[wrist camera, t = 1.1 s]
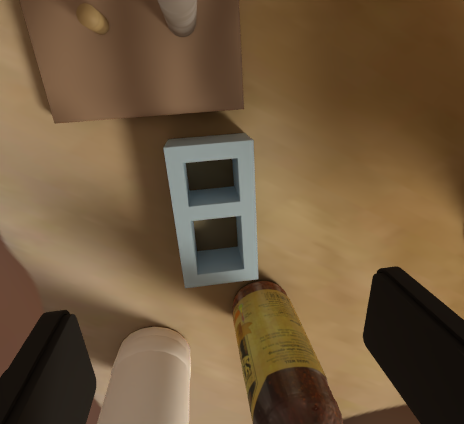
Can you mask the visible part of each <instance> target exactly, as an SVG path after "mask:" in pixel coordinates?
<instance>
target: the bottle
mask: <svg viewBox="0 0 464 424" xmlns="http://www.w3.org/2000/svg"><path fill="white" fill-rule="evenodd" d="M190 375H191V358H190V347H189V345H188V342H187V340H186V339H185V338H184V337H183V336H182V335H180V334H179V333H178V332H176V331H173V330H171V329H168V328H162V327H149V328H142V329H140V330H138V331H135V332H133V333H131V334H130V335H129V336H128V337H127V338H126V339H124V340H123V341H122V344H121V346H120V348H119V351H118V354H117V357H116V359H115V361H114V364H113V367H112V371H111V378H110V382H109V385H108V388H107V392H106V395H105V399H104V402H103V405H102V409H101V412H100V416H99V419H98V423H97V424H189V388H190Z"/></svg>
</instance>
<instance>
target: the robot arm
mask: <svg viewBox="0 0 464 424" xmlns="http://www.w3.org/2000/svg"><path fill="white" fill-rule="evenodd" d="M363 340H364V343H365V345H366V347H367V349H368V350H369V351H370V353H371V354H372V356H373V357H374V358H375V360H376V361H377V363H378V364H379V365H380V367H381V368H382V370H383V371H384V373H385V374H386V375H387V377H388V378H389V380H390V381H391V382H392V384H393V385H394V387H395V388H396V390H397V391H398V392H399V394H400V395H401V397H402V398H403V399H404V401H405V402H406V404H407V405H408V406H409V408H410V409H411V411H412V412H413V414H414V415H415V416H416V418H417V419H418V421H419V422H420V423H421V424H464V320H463V319H462V318H461V317H459V316H458V315H457V314H456V313H455V312H453V311H452V310H451V309H450V308H449V307H447V306H446V305H445V304H444V303H442V302H441V301H440V300H439V299H438V298H436V297H435V296H434V295H433V294H432V293H430V292H429V291H428V290H427V289H426V288H424V287H423V286H422V285H421V284H419V283H418V282H417V281H416V280H415V279H413V278H412V277H411V276H410V275H409V274H407V273H406V272H405V271H404V270H402V269H401V268H400V267H388V268H381V269H379V270H378V271H377V274H374V276H373V279H372V285H371V291H370V297H369V302H368V308H367V314H366V320H365V326H364V332H363ZM95 390H96V377H95V374H94V371H93V367H92V364H91V361H90V358H89V355H88V352H87V349H86V346H85V343H84V340H83V336H82V333H81V330H80V327H79V324H78V321H77V318H76V316H75V315H74V314H70V313H69V312H68V311H67V310H61V311H53V312H46V313H44V314H43V315H42V316H41V317H40V319H39V320H38V322H37V324H36V325H35V327H34V328H33V330H32V331H31V333H30V335H29V336H28V338H27V339H26V341H25V342H24V344H23V346H22V347H21V349H20V351H19V352H18V354H17V355H16V357H15V358H14V360H13V361H12V363H11V365H10V366H9V368H8V369H7V370H6V371H5V372H4V373H3V374H2V376H1V377H0V424H86V421H87V418H88V415H89V411H90V408H91V404H92V401H93V398H94V394H95Z"/></svg>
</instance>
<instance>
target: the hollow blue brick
mask: <svg viewBox="0 0 464 424" xmlns="http://www.w3.org/2000/svg"><path fill="white" fill-rule="evenodd" d="M164 155H165V161H166V168H167V174H168V181H169V187H170V194H171V200H172V207H173V213H174V220H175V226H176V233H177V239H178V246H179V252H180V259H181V265H182V272H183V278H184V285H185V288H191V287H199V286H207V285H215V284H223V283H231V282H239V281H247V280H255V279H258V254H257V226H256V198H255V170H254V142H253V139H251V138H250V137H249V136H248V135H247V134H245V133H237V134H225V135H213V136H201V137H189V138H177V139H168V140H167V142H166V144H165V146H164ZM223 159H232V163H233V179H234V186H232V187H221V188H211V189H201V190H191V191H189V183H188V175H187V168H186V163H189V162H201V161H212V160H223ZM234 216H236V225H237V240H238V247H229V248H221V249H212V250H203V251H197V246H196V239H195V231H194V223H193V221H197V220H206V219H215V218H225V217H234Z"/></svg>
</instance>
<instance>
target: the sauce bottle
mask: <svg viewBox="0 0 464 424" xmlns="http://www.w3.org/2000/svg"><path fill="white" fill-rule="evenodd" d="M233 322H234V327H235V332H236V338H237V343H238V348H239V354H240V360H241V364H242V371H243V376H244V381H245V385H246V390H247V395H248V401H249V406H250V412H251V416H252V421H253V424H343V420H342V415H341V412H340V410H339V407H338V405H337V402H336V401H335V399H334V397H333V395H332V393H331V390H330V388H329V386H328V383H327V379H326V376H325V374H324V372H323V369H322V367H321V365H320V363H319V361H318V359H317V356H316V354H315V352H314V350H313V348H312V346H311V344H310V341H309V339H308V337H307V335H306V333H305V331H304V329H303V327H302V324H301V322H300V320H299V318H298V316H297V314H296V312H295V310H294V307H293V305H292V303H291V301H290V299H289V298H288V297H287V295H286V292H285V291H284V290H283V289H282V288H281V287H280V286H279V285H277V284H274V283H272V282H270V281H257V282H252V283H250V284H248V285H246V286H245V287H243V288H242V289H241V290H239V292H238V293H237V294H236V296H235V298H234V301H233Z"/></svg>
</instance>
